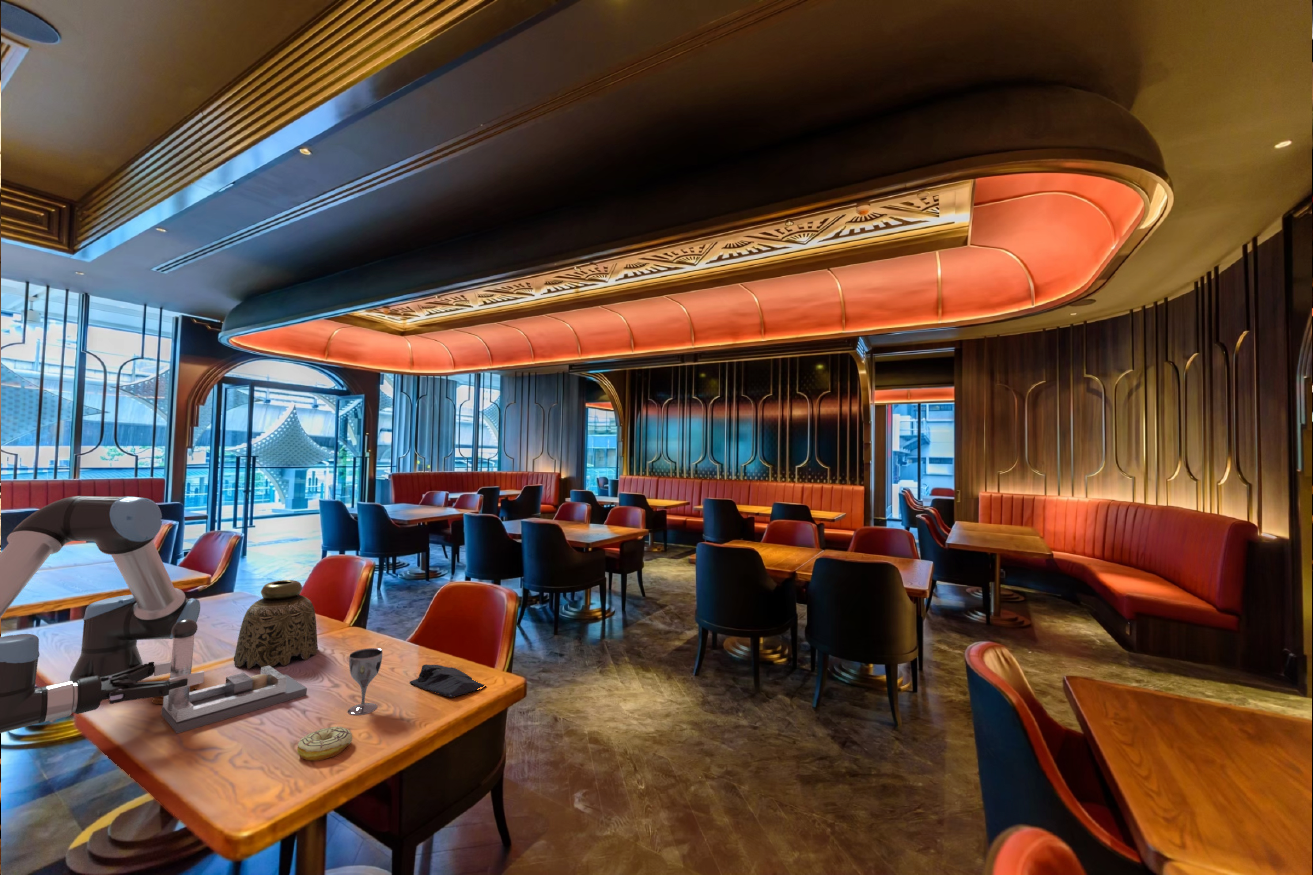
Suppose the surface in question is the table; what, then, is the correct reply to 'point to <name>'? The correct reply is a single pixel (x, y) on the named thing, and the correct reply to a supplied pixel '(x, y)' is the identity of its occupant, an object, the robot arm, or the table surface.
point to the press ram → (181, 698)
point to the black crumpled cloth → (445, 680)
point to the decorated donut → (324, 743)
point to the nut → (259, 681)
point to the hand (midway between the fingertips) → (195, 669)
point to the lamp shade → (277, 627)
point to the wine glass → (364, 675)
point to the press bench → (235, 707)
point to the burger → (160, 699)
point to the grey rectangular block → (238, 684)
